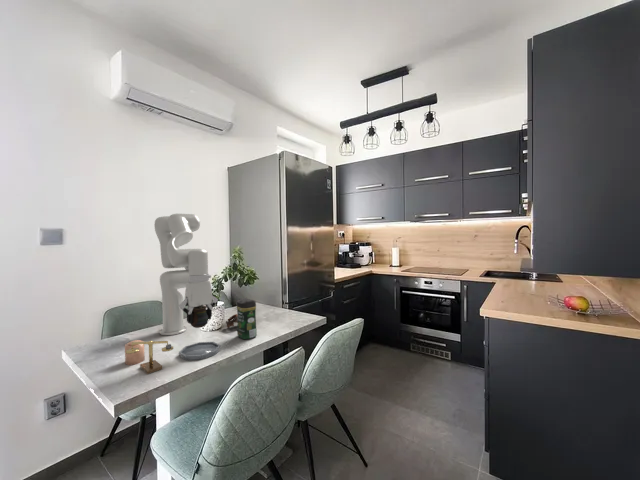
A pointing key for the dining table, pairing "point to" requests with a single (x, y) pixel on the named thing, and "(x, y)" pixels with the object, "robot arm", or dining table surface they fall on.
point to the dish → (199, 350)
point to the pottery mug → (230, 321)
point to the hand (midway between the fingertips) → (199, 320)
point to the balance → (150, 356)
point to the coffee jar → (246, 318)
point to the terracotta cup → (134, 357)
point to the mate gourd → (199, 316)
